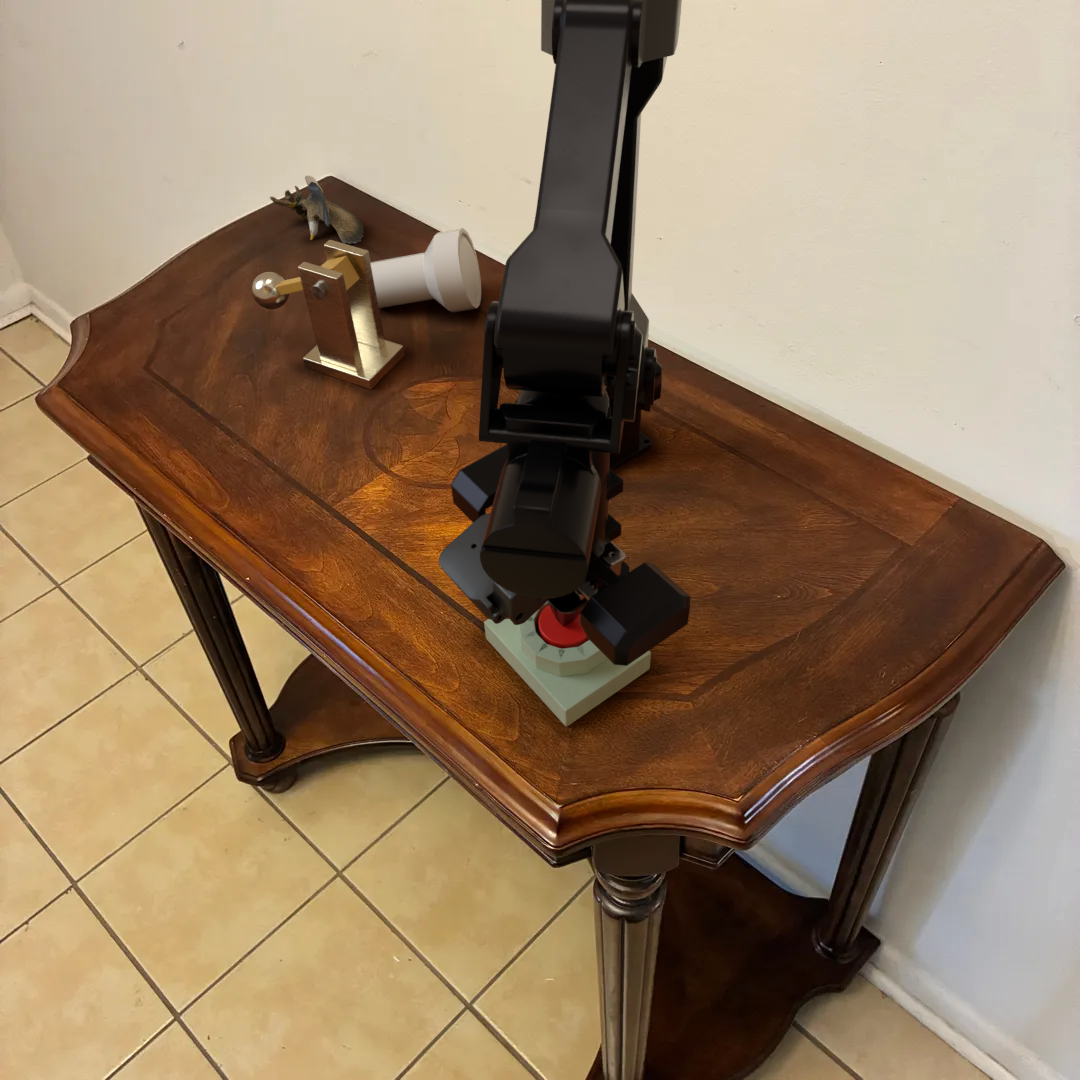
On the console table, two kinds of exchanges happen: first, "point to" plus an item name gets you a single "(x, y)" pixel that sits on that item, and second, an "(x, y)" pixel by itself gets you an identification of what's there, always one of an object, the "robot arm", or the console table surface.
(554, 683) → the button box
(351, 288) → the switch bracket
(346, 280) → the switch lever
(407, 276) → the spotlight
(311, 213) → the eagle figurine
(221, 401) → the console table surface
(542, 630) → the red button
